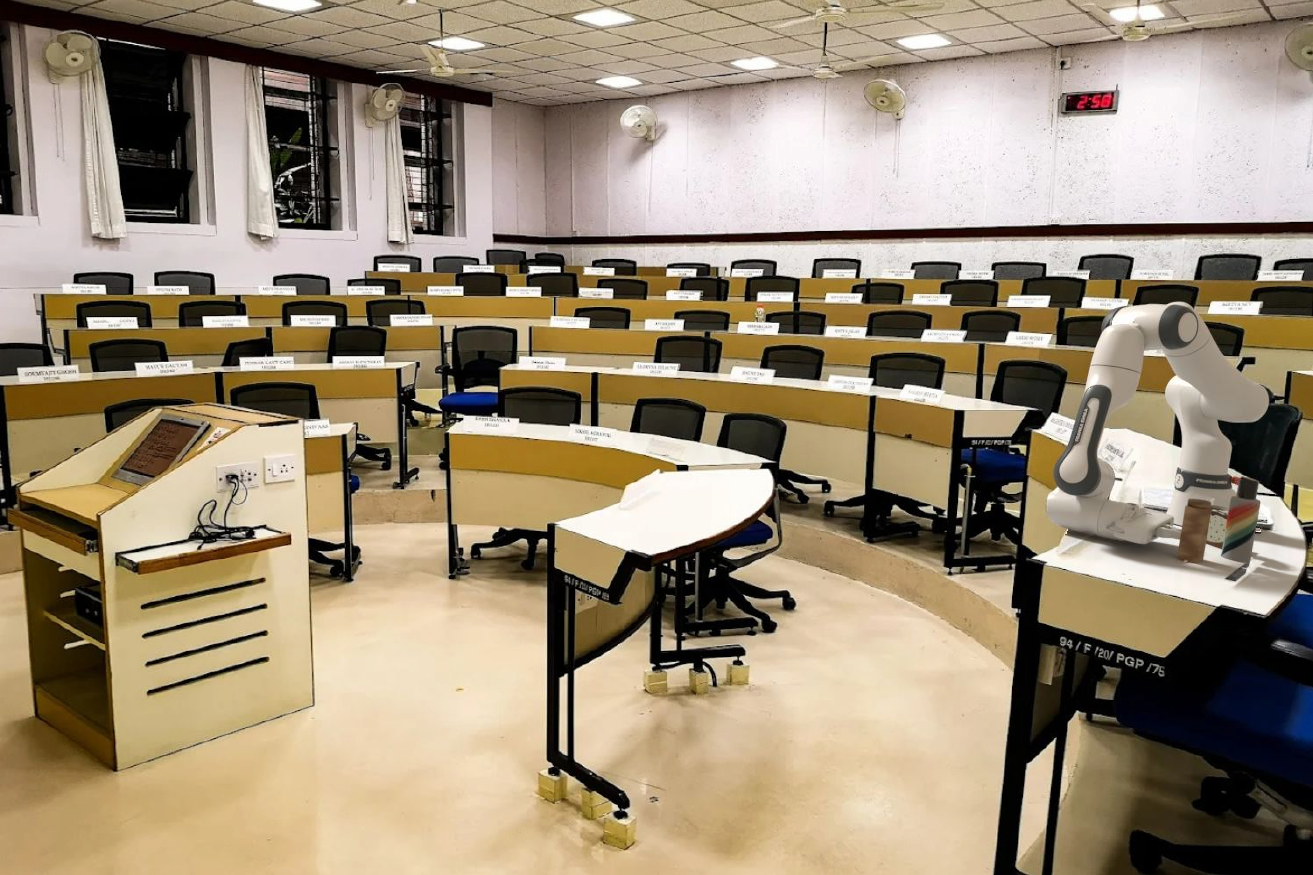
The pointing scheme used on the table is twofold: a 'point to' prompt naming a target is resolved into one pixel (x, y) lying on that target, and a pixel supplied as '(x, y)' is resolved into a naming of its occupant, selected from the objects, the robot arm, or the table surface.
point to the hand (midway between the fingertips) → (1183, 535)
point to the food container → (1217, 526)
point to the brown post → (1194, 530)
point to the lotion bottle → (1241, 522)
